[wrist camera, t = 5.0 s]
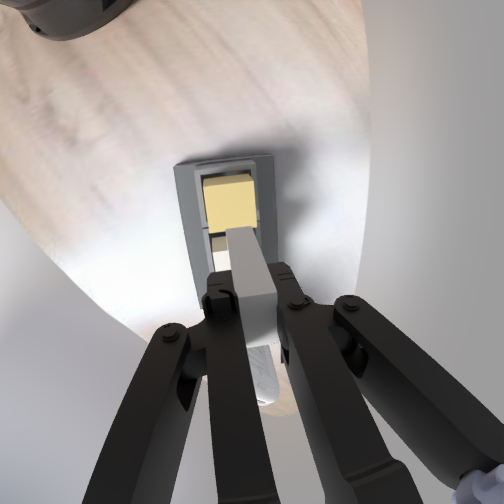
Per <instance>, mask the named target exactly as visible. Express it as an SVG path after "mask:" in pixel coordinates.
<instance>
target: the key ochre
mask: <svg viewBox="0 0 504 504" xmlns="http://www.w3.org/2000/svg"><path fill="white" fill-rule="evenodd" d="M203 191H204V198H205V206H206V213H207V220H208V226H209V233H216V232H224V231H225V229H229V228H237V227H245V226H252V228H255V227H257V220H256V206H255V192H254V181H253V179H252V178H251V176H250V175H249V174H241V175H232V176H223V177H215V178H208V179H204V181H203Z"/></svg>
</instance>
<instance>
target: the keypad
mask: <svg viewBox="0 0 504 504" xmlns="http://www.w3.org/2000/svg"><path fill="white" fill-rule="evenodd" d="M173 169H174V176H175V182H176V189H177V195H178V201H179V207H180V212H181V218H182V224H183V229H184V234H185V239H186V245H187V250H188V255H189V259H190V264H191V269H192V274H193V278H194V283H195V287H196V292H197V296H198V300H199V305H200V309H203V306H202V302H201V300H202V296H203V295H204V294H205V293H206V292H207V278H208V276H209V275H210V273H211V272H216V271H215V265H214V259H213V253H212V238H216V237H223V236H226V231H224V232H216V233H209V226H208V220H207V213H206V206H205V198H204V191H203V181H204V179H208V178H215V177H223V176H232V175H241V174H249V175H250V176H251V178H252V179H253V181H254V192H255V206H256V220H257V227H255V228H252V229H253V231H254V234H255V236H256V239H257V241H258V244H259V247H260V249H261V252H262V254H263V257H264V259H265V262H266V264H270V263H277V262H278V247H277V220H276V197H275V177H274V158H273V155H271V154H263V155H251V156H241V157H231V158H222V159H214V160H207V161H199V162H192V163H186V164H179V165H175V166H174V167H173Z"/></svg>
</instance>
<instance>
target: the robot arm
mask: <svg viewBox="0 0 504 504" xmlns="http://www.w3.org/2000/svg"><path fill="white" fill-rule="evenodd" d="M132 1H133V0H0V4H3V5H6V6H9V7H12V8H15V9H17V10H19V12H20V13H21V15H22V16H23V18H24V19H25V21H26V22H27V24H28V25H29V27H30V28H31V30H32V31H33V32H34V33H36V34H37V35H39V36H41V37H44V38H47V39H50V40H54V41H66V40H71V39H75V38H79V37H81V36H84V35H86V34H89V33H91V32H93V31H95V30H97V29H98V28H100V27H102V26H103V25H105V24H106V23H108V22H109V21H111V20H112V19H113V18H115V17H116V16H117V15H119V14H120V13H121V12H122V11H123V10H124V9H125V8H126V7H127V6H128V5H129V4H130V3H131V2H132ZM225 231H226V239H227V247H228V255H229V262H230V270H225V271H218V272H211V273H210V275H209V276H208V278H207V292H206V293H205V294H204V295H203V296H202V300H201V302H202V306H203V310H204V315H205V318H204V320H203V321H201V322H200V323H199V324H197V325H195V326H192V327H189V328H186V327H185V326H183V325H182V324H179V323H168V324H165V325H163V326H161V327H160V328H158V329H157V330H156V332H155V333H154V335H153V337H152V339H151V341H150V343H149V345H148V347H147V349H146V351H145V353H144V355H143V357H142V359H141V361H140V363H139V366H138V368H137V370H136V372H135V374H134V376H133V378H132V381H131V383H130V385H129V387H128V389H127V392H126V394H125V396H124V398H123V400H122V403H121V405H120V407H119V409H118V412H117V414H116V416H115V419H114V421H113V424H112V426H111V428H110V431H109V433H108V435H107V438H106V440H105V443H104V445H103V448H102V450H101V453H100V455H99V458H98V460H97V463H96V466H95V468H94V471H93V473H92V476H91V479H90V482H89V485H88V487H87V490H86V493H85V496H84V499H83V501H82V504H170V502H171V497H172V493H173V489H174V485H175V481H176V477H177V472H178V469H179V465H180V461H181V457H182V453H183V449H184V445H185V441H186V438H187V434H188V430H189V426H190V422H191V418H192V415H193V411H194V407H195V403H196V399H197V395H198V392H199V388H200V384H201V381H202V376H205V375H207V379H208V396H209V411H210V424H211V436H212V447H213V458H214V467H215V476H216V485H217V493H218V504H281V503H280V499H279V497H278V493H277V489H276V485H275V481H274V476H273V472H272V467H271V463H270V458H269V454H268V450H267V445H266V441H265V436H264V431H263V427H262V422H261V417H260V412H259V407H258V403H257V398H256V393H255V388H254V383H253V378H252V373H251V368H250V363H249V357H248V352H247V348H251V347H257V346H263V345H269V344H275V343H278V336H279V339H280V342H281V363H284V364H285V367H286V370H287V373H288V377H289V380H290V383H291V386H292V390H293V393H294V396H295V399H296V403H297V406H298V409H299V412H300V415H301V419H302V422H303V425H304V429H305V432H306V435H307V438H308V442H309V445H310V448H311V451H312V454H313V458H314V461H315V464H316V467H317V471H318V473H319V477H320V480H321V483H322V487H323V489H324V493H325V504H423V501H422V499H421V497H420V494H419V492H418V490H417V487H416V485H415V483H414V481H413V479H412V476H411V474H410V472H409V470H408V469H407V467H406V465H405V464H404V463H402V462H401V461H399V460H396V459H394V458H393V457H392V456H391V455H390V453H389V451H388V449H387V447H386V444H385V442H384V440H383V438H382V436H381V434H380V432H379V429H378V427H377V425H376V423H375V421H374V419H373V417H372V415H371V413H370V411H369V409H368V406H367V405H366V402H365V401H364V398H363V396H364V397H365V398H366V399H367V400H368V401H369V402H370V404H371V405H372V406H373V407H374V408H375V409H376V410H377V412H378V413H379V414H380V415H381V416H382V417H383V419H384V420H385V421H386V422H387V423H388V424H389V425H390V426H391V428H392V429H393V430H394V431H395V432H396V433H397V434H398V436H399V437H400V438H401V439H402V440H403V441H404V442H405V444H406V445H407V446H408V447H409V448H410V449H411V450H412V452H413V453H414V454H415V455H416V456H417V457H418V458H419V459H420V461H421V462H422V463H423V464H424V465H425V466H426V467H427V468H428V470H429V471H430V472H431V473H432V474H433V475H434V476H435V477H436V478H437V479H438V480H440V481H441V482H442V483H444V484H445V485H446V486H448V487H450V488H452V489H454V490H456V491H455V493H454V494H453V496H452V503H453V504H504V424H502V423H501V422H500V421H499V420H498V419H497V418H496V417H495V416H494V415H493V414H492V413H491V412H490V411H489V410H488V409H487V408H486V407H485V406H484V405H483V404H482V403H481V402H480V401H479V400H478V399H476V397H474V396H473V395H472V394H471V393H470V392H469V391H468V390H467V389H466V388H465V387H464V386H463V385H462V384H461V383H459V382H458V381H457V380H456V379H455V378H454V377H453V376H452V375H450V374H449V373H448V372H447V371H446V370H445V369H444V368H443V367H442V366H441V365H440V364H438V363H437V362H436V361H435V360H434V359H433V358H432V357H431V356H429V355H428V354H427V353H426V352H425V351H423V350H422V349H421V348H420V347H419V346H418V345H417V344H416V343H415V342H413V341H412V340H411V339H410V338H409V337H408V336H406V335H405V334H404V333H403V332H402V331H401V330H399V329H398V328H397V327H396V326H395V325H394V324H392V323H391V322H390V321H389V320H388V319H386V318H385V317H384V316H383V315H382V314H380V313H379V312H378V311H377V310H376V309H374V308H373V307H372V306H371V305H370V304H368V303H367V302H366V301H365V300H363V299H361V298H360V297H358V296H354V295H344V296H341V297H339V298H337V299H336V301H335V303H334V305H321V304H316V303H314V301H313V300H312V299H311V298H310V297H309V296H307V295H304V293H303V291H302V290H301V288H300V286H299V284H298V282H297V280H296V278H295V276H294V274H293V272H292V270H291V268H290V267H289V266H288V265H287V264H285V263H284V262H277V263H270V264H266V262H265V259H264V257H263V254H262V252H261V249H260V247H259V244H258V241H257V239H256V236H255V234H254V231H253V229H252V226H245V227H237V228H229V229H225ZM361 393H362V394H363V396H362V394H361Z"/></svg>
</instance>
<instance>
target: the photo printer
mask: <svg viewBox="0 0 504 504" xmlns="http://www.w3.org/2000/svg"><path fill="white" fill-rule="evenodd" d="M247 352H248V357H249V363H250V368H251V373H252V378H253V383H254V388H255V393H256V398H257V403H258V405H268V404H270V403H271V402H275V401H276V399H277V398H278V396H279V393H280V385H279V381H278V378H277V374H276V371H275V367H274V363H273V359H272V355H271V351H270V348H269V345H263V346H257V347H251V348H247Z"/></svg>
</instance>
